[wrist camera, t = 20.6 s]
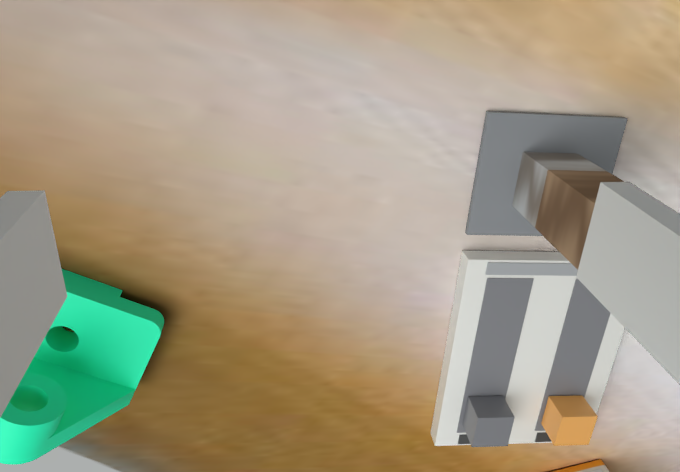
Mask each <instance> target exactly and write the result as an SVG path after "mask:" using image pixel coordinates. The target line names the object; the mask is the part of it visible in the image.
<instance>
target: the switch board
mask: <svg viewBox="0 0 680 472" xmlns="http://www.w3.org/2000/svg"><path fill="white" fill-rule="evenodd" d="M577 272H578V270H577V269H576V268H575V267H574V266H573V265H572V264H571V263H570V262H569V261H568V260H567V259H566V258H565V257H564V256H563V255H562V254H561V253H560V252H533V251H464V250H462V255H461V260H460V266H459V272H458V278H457V283H456V289H455V295H454V301H453V307H452V312H451V318H450V324H449V330H448V335H447V341H446V347H445V353H444V358H443V364H442V370H441V376H440V382H439V387H438V393H437V399H436V405H435V410H434V416H433V422H432V428H431V436H432V439H433V442H434V445H435V446H446V445H471V444H470V441H469V439H468V437H467V434H466V432H465V429H464V427H463V420H464V415H465V410H466V405H467V400H468V396H504V398H505V400H506V402H507V404H508V406H509V408H510V409H511V411H512V413H513V415H514V417H515V418H514V422H513V426H512V430H511V434H510V438H509V442H508V444H516V443H552V441H551V440H550V438H549V436H548V435H547V433H546V431H545V429H544V428H543V426H542V424H541V422H542V419H543V415H544V411H545V408H546V404H547V401H548V397H549V396H580V395H583V397H584V398H585V400H586V401H587V402H588V404H589V405H590V406H591V408H592V409H593V411H594V412H595V413H596V415H597V412H598V409H599V406H600V403H601V399H602V396H603V393H604V390H605V387H606V384H607V381H608V378H609V375H610V372H611V369H612V366H613V363H614V360H615V357H616V354H617V351H618V347H619V344H620V341H621V338H622V335H623V332H624V329H625V327H624V326H623V325H622V324H621V323H620V322H619V321H618V320H617V319H616V318H615V317H614V316H613V315H612V314H611V313H610V312H609V311H608V310H607V309H606V308H605V307H604V306H603V305H602V304H601V302H600V301H599V300H598V299H597V298H596V297H595V296H594V295H593V294H592V293H591V292H590V291H589V290H588V289H587V288H586V287H585V286H584V285H583V284H582V283H581V282H580V281H579V280H578V279H577V278H576V276H577Z"/></svg>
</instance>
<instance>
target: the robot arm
mask: <svg viewBox="0 0 680 472" xmlns="http://www.w3.org/2000/svg"><path fill="white" fill-rule="evenodd" d="M576 278H577V279H578V280H579V281H580V282H581V283H582V284H583V285H584V286H585V287H586V288H587V289H588V290H589V291H590V292H591V293H592V294H593V295H594V296H595V297H596V298H597V299H598V300H599V301H600V302H601V304H602V305H603V306H604V307H605V308H606V309H607V310H608V311H609V312H610V313H611V314H612V315H613V316H614V317H615V318H616V319H617V320H618V321H619V322H620V323H621V324H622V325H623V326H624V327H625V328H626V329H627V331H628V332H629V333H630V334H631V335H632V336H633V337H634V338H635V339H636V340H637V341H638V342H639V343H640V344H641V345H642V346H643V347H644V348H645V349H646V350H647V351H648V352H649V353H650V354H651V355H652V356H653V358H654V359H655V360H656V361H657V362H658V363H659V364H660V365H661V366H662V367H663V368H664V369H665V370H666V371H667V372H668V373H669V374H670V375H671V376H672V377H673V378H674V379H675V380H676V381H677V382H678V384H679V385H680V214H679V213H678V212H676V211H674V210H673V209H671V208H670V207H668V206H667V205H665V204H663V203H662V202H660V201H659V200H657V199H655V198H654V197H652V196H651V195H649V194H648V193H646V192H644V191H643V190H641V189H640V188H638V187H636V186H635V185H633V184H632V183H630V182H600V186H599V190H598V194H597V198H596V202H595V206H594V210H593V213H592V217H591V221H590V225H589V229H588V233H587V237H586V241H585V244H584V248H583V252H582V256H581V260H580V264H579V268H578V272H577V276H576ZM66 298H67V292H66V287H65V283H64V278H63V273H62V269H61V264H60V260H59V255H58V250H57V246H56V241H55V236H54V232H53V227H52V223H51V218H50V213H49V209H48V204H47V199H46V195H45V191H7V192H6V193H5V194H4V195H3V196H2V197H1V198H0V418H1V416H2V414H3V412H4V410H5V408H6V407H7V405H8V403H9V401H10V399H11V398H12V396H13V394H14V392H15V390H16V389H17V387H18V385H19V383H20V381H21V380H22V378H23V376H24V374H25V372H26V370H27V369H28V367H29V365H30V363H31V361H32V360H33V358H34V356H35V354H36V352H37V351H38V349H39V347H40V345H41V343H42V342H43V340H44V338H45V336H46V334H47V332H48V331H49V329H50V327H51V325H52V323H53V322H54V320H55V318H56V316H57V314H58V313H59V311H60V309H61V307H62V305H63V304H64V302H65V300H66Z"/></svg>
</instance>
